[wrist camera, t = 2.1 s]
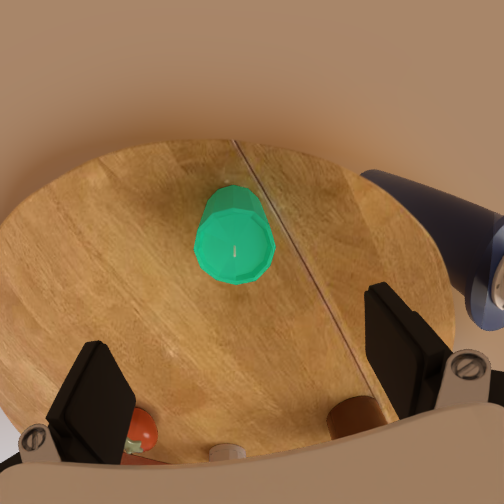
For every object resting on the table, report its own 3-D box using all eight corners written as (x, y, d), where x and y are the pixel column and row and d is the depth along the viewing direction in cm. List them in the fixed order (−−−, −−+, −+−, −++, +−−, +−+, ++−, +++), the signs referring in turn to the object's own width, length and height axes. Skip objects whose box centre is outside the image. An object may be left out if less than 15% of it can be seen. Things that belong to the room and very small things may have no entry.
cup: (259, 454, 48) (265, 510, 37) (225, 468, 50) (226, 521, 39) (229, 435, 46) (230, 497, 35) (194, 451, 47) (191, 508, 36)
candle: (273, 222, 34) (293, 268, 23) (224, 251, 35) (221, 308, 24) (243, 173, 32) (249, 196, 21) (193, 204, 33) (173, 243, 22)
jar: (381, 387, 44) (405, 434, 35) (378, 422, 48) (397, 465, 38) (322, 404, 44) (338, 456, 35) (326, 437, 48) (339, 484, 38)
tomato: (128, 429, 45) (118, 466, 37) (108, 400, 42) (94, 438, 35) (168, 427, 45) (162, 466, 37) (150, 397, 42) (140, 438, 35)
